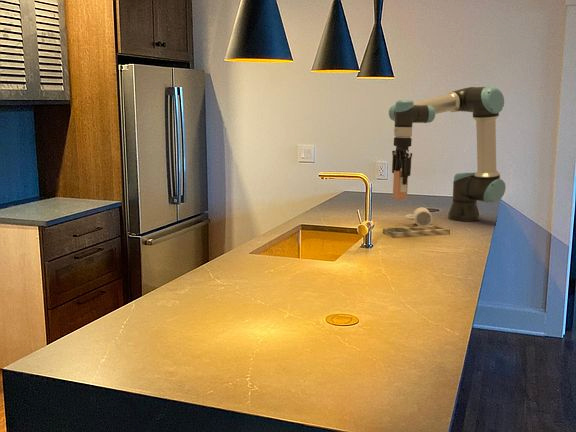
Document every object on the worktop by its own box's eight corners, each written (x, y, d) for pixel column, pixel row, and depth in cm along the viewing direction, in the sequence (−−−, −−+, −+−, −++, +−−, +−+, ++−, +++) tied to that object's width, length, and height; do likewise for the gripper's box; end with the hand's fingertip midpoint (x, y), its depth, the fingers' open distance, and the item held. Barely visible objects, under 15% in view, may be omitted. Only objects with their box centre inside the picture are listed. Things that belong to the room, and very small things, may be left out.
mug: (429, 223, 312) (430, 207, 311) (432, 228, 302) (433, 211, 301) (404, 223, 313) (405, 206, 312) (405, 227, 304) (406, 210, 302)
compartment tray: (437, 229, 299) (438, 224, 298) (450, 234, 290) (450, 229, 289) (382, 232, 290) (383, 228, 289) (393, 237, 281) (393, 232, 280)
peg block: (401, 197, 287) (403, 170, 284) (406, 199, 282) (408, 171, 280) (392, 198, 285) (393, 170, 283) (397, 199, 281) (398, 171, 279)
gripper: (385, 135, 286) (383, 188, 290) (405, 138, 270) (402, 194, 274) (400, 135, 288) (398, 188, 293) (421, 138, 272) (418, 193, 276)
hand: (400, 191), depth 283 cm, fingers closed on peg block, 4 cm apart
